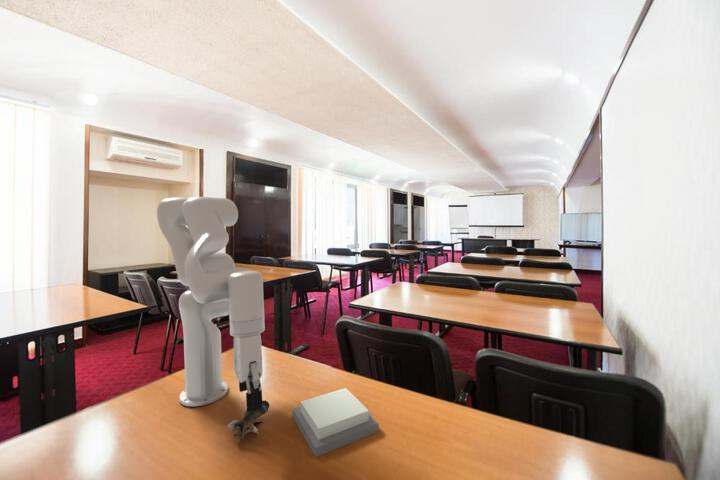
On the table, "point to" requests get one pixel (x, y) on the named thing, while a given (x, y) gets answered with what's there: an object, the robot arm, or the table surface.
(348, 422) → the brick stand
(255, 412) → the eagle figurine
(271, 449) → the table surface
